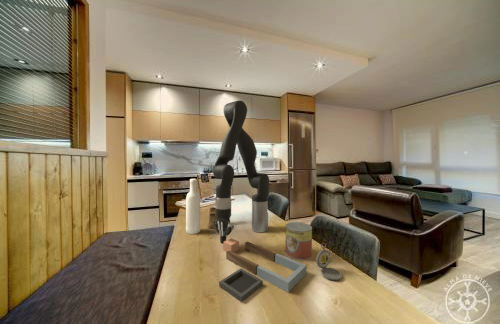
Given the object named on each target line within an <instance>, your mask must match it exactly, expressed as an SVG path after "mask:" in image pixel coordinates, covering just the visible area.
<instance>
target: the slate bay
mask: <svg viewBox="0 0 500 324" xmlns="http://www.w3.org/2000/svg"><path fill="white" fill-rule="evenodd" d="M274 263H276V264H278V265H280V266H282V267H285V268H287V269H289V270H291V271H293V272H292V273H291V274H290V275H289V276H288V277H287V278H286V277H284V276H283V275H281V274H278V273H276V272H274V271H272V270H270V269H269V268H266V267H264V266H262V265H259V264H258V265H259V266H258V267H257V275H256V277H258V278H259V279H261V280H264V281H266V282H267V283H269V284H272V285H274V286H275V287H277V288H278V289H281V290H282V291H285V292H286V293H289V292H290V291H291V290H292V289H294V287H295V286H296V285H297V284H298V283H299V282H300V281H301V280H302V279H303V278H304V277H305V276H306V275H307V268H308V267H307V265H306V264H304V263H302V262H299V261H298V260H296V259H293V258H290V257H288V256H284V255H282V254H280V253H276V255H275V262H274Z"/></svg>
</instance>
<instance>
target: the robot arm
mask: <svg viewBox="0 0 500 324" xmlns="http://www.w3.org/2000/svg"><path fill="white" fill-rule="evenodd" d="M223 114H224V115H223V116H224V118H225V120H226V122H227V124H228V127H229V129H228V131H227V133H226V134H225V136H224V138H223V139H222V142H221V146H220V151H219V155H218V156H217V159H216V161H215V163H214V165H213V169H212V173H213V176H214V178H216V179H218V180H221V182H220V183H219V184H217V185H216V187H215V200H214V201H215V203H214V204H215V205H214V207H215V217H216V221H213V223H214V226H215V228H216V229H215V230H216V233H217V234H219V238H220V239H219V241H220V244H222V245H223V242H224V241H227V236H229V235H230V234H231V232H232V231H233V229H234V228H235V226H234V225H232V224H231V216H232V187H233V182H234V178H235V169H234V167H233V166H232V165H231V164H228V163H229V162H232V161H233V160H234V158H235V154H236V149H238V152H239V155H240V157H241V158H242V159H241V160H242V162H243V165H244V169H245V171H246V175H247V180H248V184H249V185H250V187H251V188H252V189H257V190H258V192H257V193H254V194H253V195H252V196H251V231H252V232H256V233H265V232H267V231H268V230H269V212H268V207H269V206H268V201H269V199H268V198H269V196H270V195H269V193H270V177H269V175H268V174H267V173H260V172H258V171H257V169H256V160H257V154H258V151H257V148H256V145H255V141H254V139H253V138H252V137H251V136H250V135H249V134H248V133H247V131H246V130H245V129H244V128H243V126H244V125H245V120H246V118H247V115H248V107H247V104H246V103H245V101H243V100H239V99H238V100H235V101H231V102H228V103H225V105H224V106H223Z"/></svg>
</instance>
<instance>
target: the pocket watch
mask: <svg viewBox="0 0 500 324" xmlns="http://www.w3.org/2000/svg"><path fill="white" fill-rule="evenodd" d="M322 245H323V246H322ZM320 248H321V250H320V251H319V252H318V253H317V255H316V258H315V262H316V264H317V266H318V267H319V268H320V269H321V270H320V271H321V275H322V276H323V278H326V279H328V280H330V281H339V280H341V279H342V276H343V275H342V273H341V272H340V271H339V270H337V269H335V268H332V267H328V266H329V264H330V262H331V259H332V257H331V253H330V251H329V250H327V249H326V248H327V244H326V243H325V242H323V243H321V244H320Z"/></svg>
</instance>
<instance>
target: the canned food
mask: <svg viewBox="0 0 500 324" xmlns="http://www.w3.org/2000/svg"><path fill="white" fill-rule="evenodd" d="M312 245H313V227H312V225H310V224H308V223H305V222H299V221H290V222H288V223H286V224H285V250H284V251H285V255H286V257H288V258H290V259H292V260H295V261H307V260H310V259H312V256H313V250H312V249H313V246H312Z"/></svg>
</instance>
